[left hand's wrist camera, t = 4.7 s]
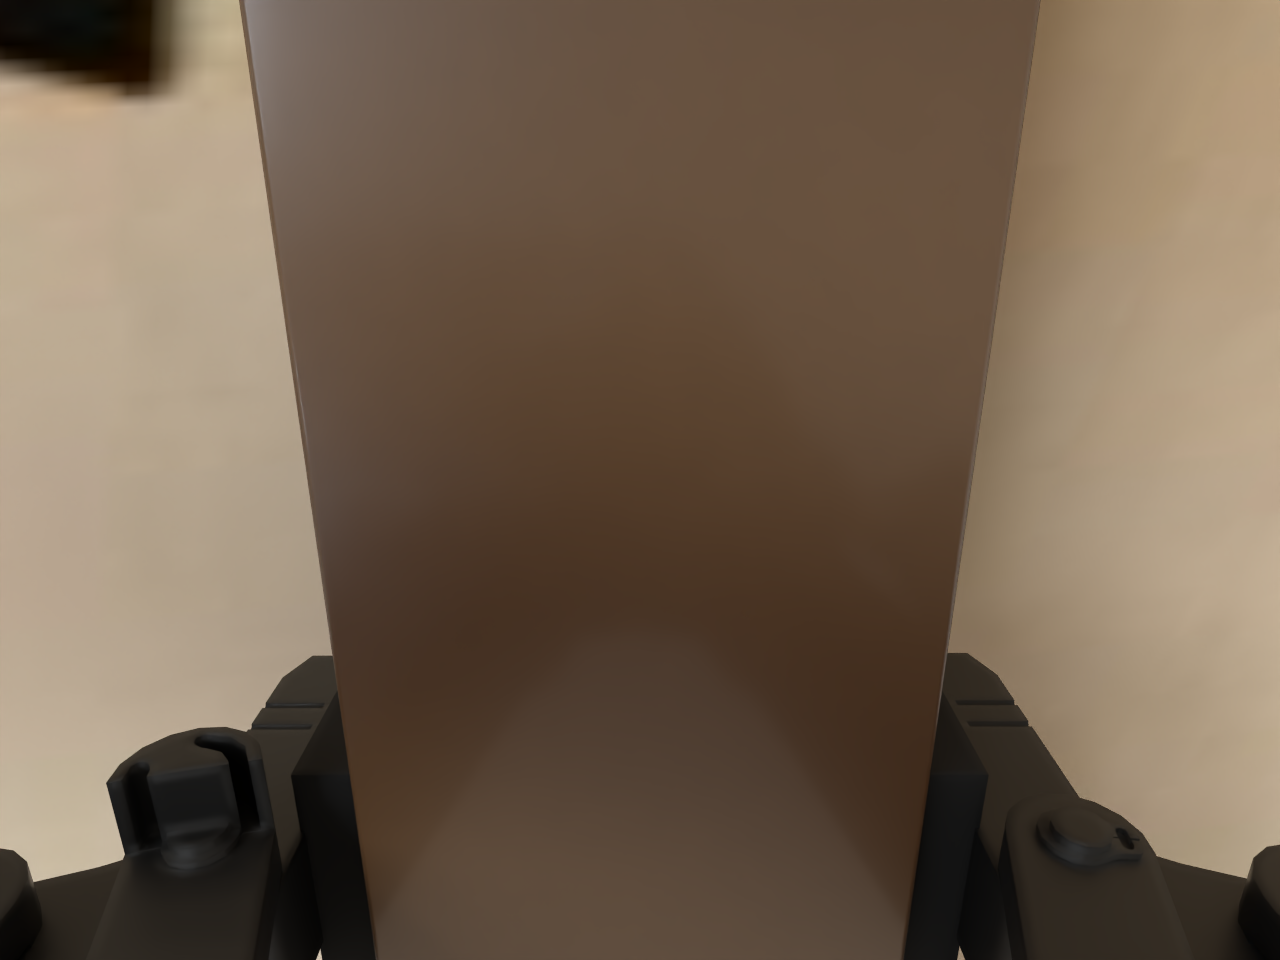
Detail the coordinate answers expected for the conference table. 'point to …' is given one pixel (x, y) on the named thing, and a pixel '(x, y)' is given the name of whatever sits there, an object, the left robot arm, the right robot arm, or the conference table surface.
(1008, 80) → the beam
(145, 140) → the conference table surface
